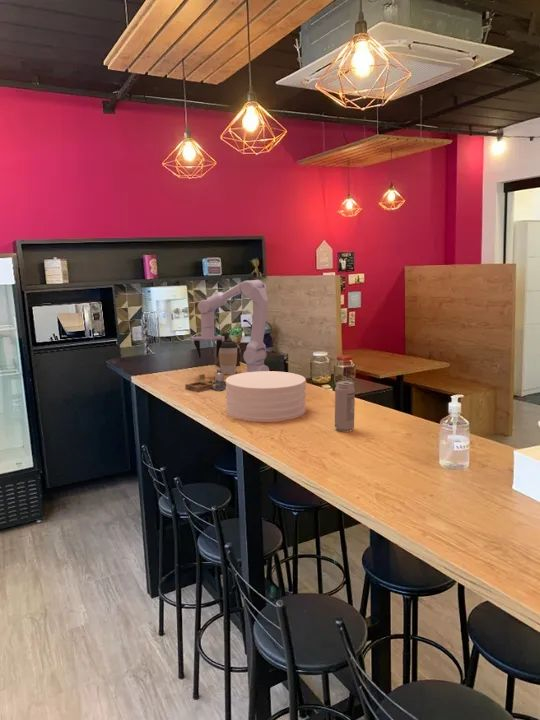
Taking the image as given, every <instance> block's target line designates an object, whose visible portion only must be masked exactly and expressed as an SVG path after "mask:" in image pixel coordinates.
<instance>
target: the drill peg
mask: <svg viewBox="0 0 540 720" xmlns="http://www.w3.org/2000/svg"><path fill="white" fill-rule="evenodd" d="M223 381H224V374H223V372H221V369H220V368H216V371H215V372H214V382H215V384H214V386H217V387H221V386H224V385H223Z"/></svg>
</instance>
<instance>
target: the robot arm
mask: <svg viewBox="0 0 540 720" xmlns="http://www.w3.org/2000/svg"><path fill="white" fill-rule="evenodd" d="M266 289H267V285H266V284H265V283H264V282H263V281H262V280H260V279H255V280H254V279H252V280H251V279H250V280H244V281H241V282H239V283H237V284H236V285H235V286H233V287H230V289H227V290H226V291H224V292H222V291H216V292H214V294H213V295H211V296H208V297H206V299H201V300H199V302H198V304H197V310H198V312H199V313H200V331H201V333H200V334H201V335H200V336H191V340H190V341H191V343H194V346H195V349H196V351H197V353H198V354H197V355H198V358H199V359H200V358H202V357H201V353H202V352H201V342H216V345H215V346H217V352H216V357H218V353H219V349H220V347H221V344H222V342H223V341H224V336H222V335H215V318H214V317H215V311H216V310H217V309H218V308H220V307H223V306H224V305H226V304H227V303H228V300H229V299H232V298H234V297H236V296H239V295H240V294H241V295H242V294H243V295H244V296H245V297H246V298H248V299H249V300H250V301H252V303H253V305H254V309H253V316H252V324H251V331H250V340H249V342H248V343H247V345H246V348H245V350H244V352H243V361H244V362H245V364H246V372H257V371H270V368H269V366H268V365H266V364H265V359H266V358H267V350H266V347H267V346H266V344H265V343H264V338H265V329H266V322H267V315H268V308H269V307H268V306H269V298H268V294H267V290H266Z"/></svg>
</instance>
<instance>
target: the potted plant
mask: <svg viewBox="0 0 540 720" xmlns="http://www.w3.org/2000/svg"><path fill="white" fill-rule="evenodd" d="M221 336H224V341H226V340H231V341H232V339H231V338H230V333H229V332H227V331H224V332H222V333H221ZM216 352H217V345H215V346H213V353H214V362H213V363H214V365H215V366H217V367H219V368H220V360H219V353H218V357H216ZM240 363H241V347H239V346H238V347H237V364H236V367H240V366H241V364H240Z"/></svg>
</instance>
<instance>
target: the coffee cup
mask: <svg viewBox="0 0 540 720" xmlns="http://www.w3.org/2000/svg"><path fill="white" fill-rule="evenodd" d="M237 347H239V345H238V344H237V342H236V341H232V339H231V340H226V341H222V344H221V347H220V349H219V360H220V367H219V369H221V372H223V375H235V374H236V372H237V371H236V370H237V366H236V364H237Z"/></svg>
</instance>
